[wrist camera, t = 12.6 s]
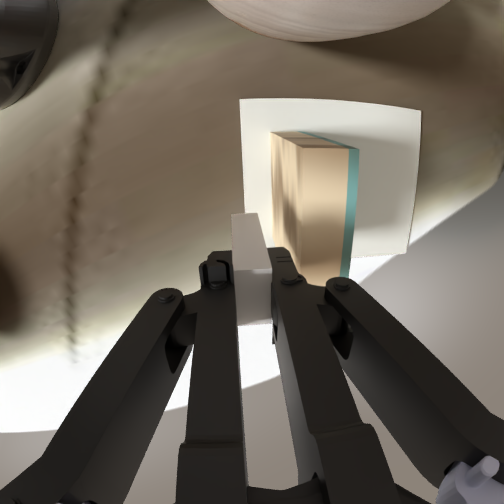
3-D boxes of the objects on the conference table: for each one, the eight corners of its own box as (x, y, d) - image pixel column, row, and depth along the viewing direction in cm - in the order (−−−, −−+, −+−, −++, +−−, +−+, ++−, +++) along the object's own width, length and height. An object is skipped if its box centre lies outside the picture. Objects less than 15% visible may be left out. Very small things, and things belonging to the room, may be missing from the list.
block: (270, 131, 24) (302, 147, 14) (303, 131, 24) (359, 149, 14) (272, 237, 29) (297, 315, 18) (302, 235, 29) (343, 310, 18)
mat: (239, 99, 23) (239, 99, 23) (417, 110, 24) (421, 110, 24) (247, 263, 31) (248, 266, 30) (403, 251, 31) (405, 253, 31)
